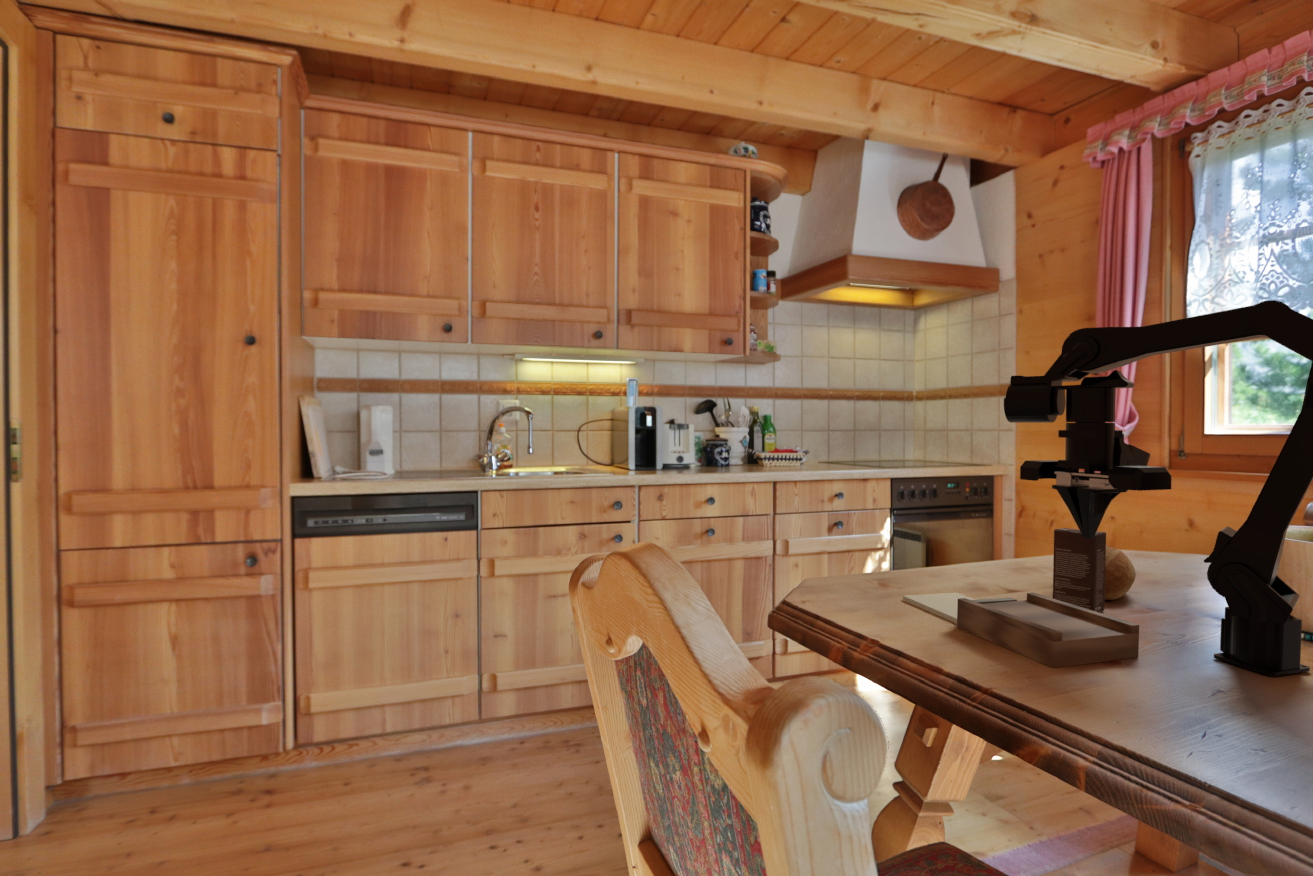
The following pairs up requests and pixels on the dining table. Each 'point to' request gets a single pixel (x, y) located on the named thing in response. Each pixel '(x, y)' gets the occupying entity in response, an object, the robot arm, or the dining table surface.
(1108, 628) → the walnut box
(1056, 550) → the box
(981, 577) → the dining table surface
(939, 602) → the cover plate
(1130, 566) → the bread roll
